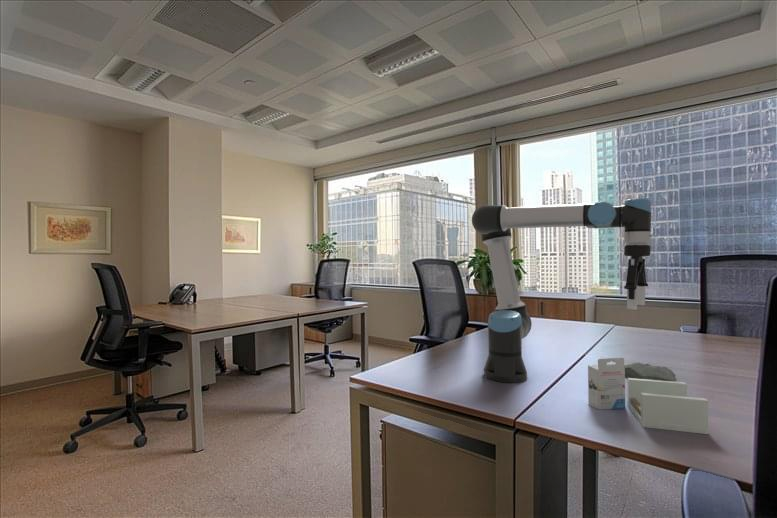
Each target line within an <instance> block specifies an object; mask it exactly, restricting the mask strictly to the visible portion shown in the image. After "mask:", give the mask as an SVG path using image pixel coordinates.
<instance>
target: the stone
mask: <svg viewBox="0 0 777 518" xmlns="http://www.w3.org/2000/svg"><path fill="white" fill-rule="evenodd" d="M624 369H625V377H627V378H636V379H648V380H661V381H674V382H677V377H676V374H675V373H674V371H672V369H671V368H668V367H666V366H657V365H651V364H649V363H640V362H633V363H630V364H629V363H628V364H624Z"/></svg>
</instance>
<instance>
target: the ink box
mask: <svg viewBox="0 0 777 518" xmlns="http://www.w3.org/2000/svg"><path fill="white" fill-rule="evenodd" d="M611 362H612V363H611ZM608 363H609V364H608ZM624 365H625V358H624V357H610V358H598V359H597V364H588V365H587V377H588V378H587V381H588V382H587V383H588V384H587V386H588V388H587V389H588V390H587V391H588V392H587V395H588V399H587V400H588V404H589V405H590V406H592V407H594V408H595V409H597V410H613V409H614V410H615V409H618V410H619V409H625V408H626V376H625V369H624Z"/></svg>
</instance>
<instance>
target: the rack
mask: <svg viewBox="0 0 777 518" xmlns="http://www.w3.org/2000/svg"><path fill="white" fill-rule="evenodd" d="M687 389H688V388H687V383H686V382H684V381H675V382H674V381H661V380H648V379H636V378H629V377H627V401H626V404H627V407H628V408H629V410H630V411H631V412H632V413H633V415H634V416H635V417H636V419H637V421H638V422H639V423H640V424H641V426H642V427H643V428H648V429H649V428H650V429H658V430H667V431H676V432H684V433H685V432H686V433H695V434H704V435H710V429H709V400H708V399H706V398H705V397H693V396H688V394H687V392H688V391H687Z"/></svg>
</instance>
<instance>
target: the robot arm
mask: <svg viewBox="0 0 777 518" xmlns="http://www.w3.org/2000/svg"><path fill="white" fill-rule="evenodd" d="M651 203H652V202H651V200H650V199H649V198H645V197H644V198H643V197H641V198H639V197H638V198H635V197H634V198H629V199H626V200H625V201H624V204H623V205H613V204H611V203H610V202H607V201H597V202H594V203H592V202H591V203H577V204H575V203H574V204H573V203H571V204H553V205H552V204H551V205H538V206H537V205H535V206H516V207H513V206H512V207H507V205H506V204H502V205H501V204H500V205H498V204H497V205H493V204H483V205H479V207H477V208H476V209H475V210H474V212H473V213H472V215H471V216H472V217H471V225H472V228H473V229H474V230H475V231H476V232H477V233H479V234H480V236H481V241H482V244H483V245H484V244H485V245H486V246H487V247H486V248H487V251H488V252H487V253H488V255H489V263H490V267H491V272H492V278H493V282H494V283H493V284H494V288H495V294H496V299H497V303H498V304H497V305H496V307H495V311H492V312H491V313H489V315H488V320H487V326H488V327H487V329H488V332H487V333H488V334H487V335H488V356H487V359H486V361H485V364H484V367H483V368H484V369H483V376H484V377H485V378H486V379H488V380H491V381H494V382H499V383H512V384H513V383H520V382H524V381H526V380H527V379H528V371H527V368H526V366H525V361H524V359H523V355H522V351H523V350H522V348H523V346H522V345H523V344H522V342H523V341H522V339H525V338H526V337H527V336H528V335H529V333H530V332H531V329H532V325H533V323H532V319H531V316H530V315H529V313H528V312H527V306H526V303H525V302H523V301H522V300H521V298H520V297H521V296H520V292H519V287H518V282H517V277H516V272H515V265H514V261H513V256H512V252H511V245H510V240H511V239H512V235H513V234H512V231H511V229H531V228H532V229H533V228H540V229H541V228H567V227H568V228H570V227H572V228H574V227H575V228H578V227H586V228H587V229H607V228H608V229H609V228H624V232H623V233H624V234H623V236H624V237H623V243H624V244H625V245H624V246H623V255H624V256H625V257H631V258H629V259H628V260H627V262H628V264H627V273H626V281H625V285H624V286H623V289H624V290H626V309H627V310H635V311H636V310H638V306H646V287H648V286H649V283H647V274H646V259H645V258H643V257H650V256H651V249H652V248H651V245H649V244H651V238H653V236H654V235H653V233H651V231H652V230H651V229H652V204H651Z"/></svg>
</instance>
